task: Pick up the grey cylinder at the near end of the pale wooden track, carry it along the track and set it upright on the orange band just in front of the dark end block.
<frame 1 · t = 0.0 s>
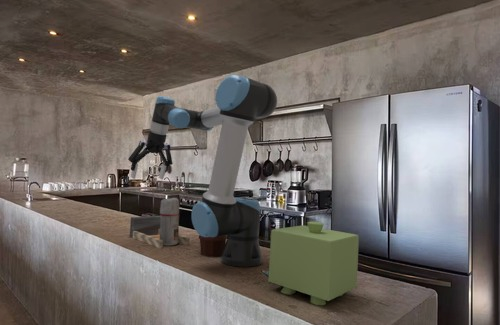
hand: (147, 178, 152), 28 cm above the table, tool tilted 20°, fingers open, 13 cm apart
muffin: (211, 254, 135), on the table
track: (159, 240, 154), on the table
grey cylinder: (168, 244, 148), resting on track
container: (311, 293, 97), on the table
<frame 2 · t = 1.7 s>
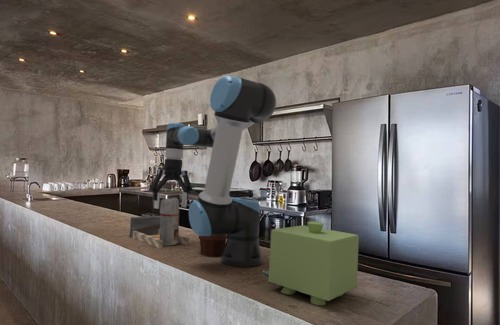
hand: (170, 207, 148), 16 cm above the table, tool pointing down, fingers open, 13 cm apart
nothing on the table moved.
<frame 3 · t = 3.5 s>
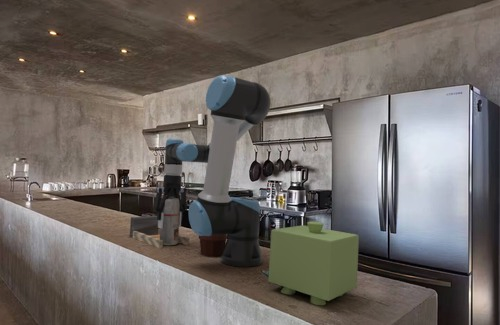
hand: (169, 227, 148), 7 cm above the table, tool pointing down, fingers closed on grey cylinder, 8 cm apart
grey cylinder: (168, 244, 148), resting on track, touching gripper
everything else where it was.
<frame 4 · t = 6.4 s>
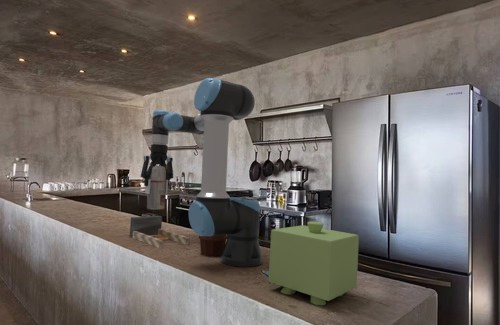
hand: (156, 193, 158), 21 cm above the table, tool pointing down, fingers closed on grey cylinder, 8 cm apart
grey cylinder: (155, 209, 157), point 13 cm above the table, touching gripper
everything else where it was.
when the fingers open (9 cm above the table, at t = 9.2 s): grey cylinder drops 1 cm, resting on track.
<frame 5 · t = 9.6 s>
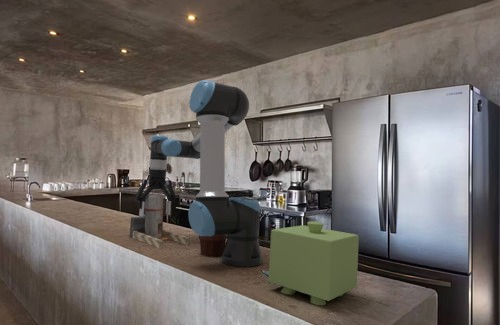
hand: (155, 215, 157), 11 cm above the table, tool pointing down, fingers open, 13 cm apart
grey cylinder: (153, 237, 157), resting on track
everything else where it was.
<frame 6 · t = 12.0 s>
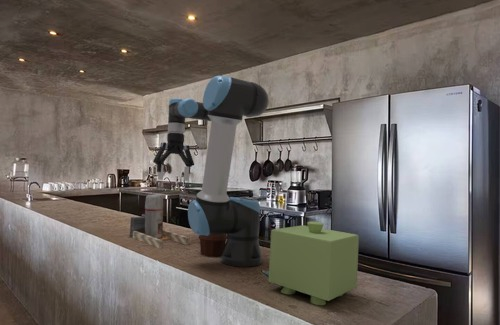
hand: (173, 180, 154), 27 cm above the table, tool pointing down, fingers open, 13 cm apart
nothing on the table moved.
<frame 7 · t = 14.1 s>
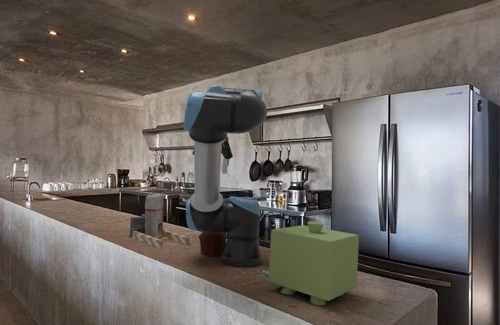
hand: (212, 173, 147), 32 cm above the table, tool pointing down, fingers open, 13 cm apart
nothing on the table moved.
at the end: grey cylinder 0.3 cm from the target spot on the track, point 0.4 cm above the track's base; grey cylinder tilted 0°; the gripper is holding nothing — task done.
